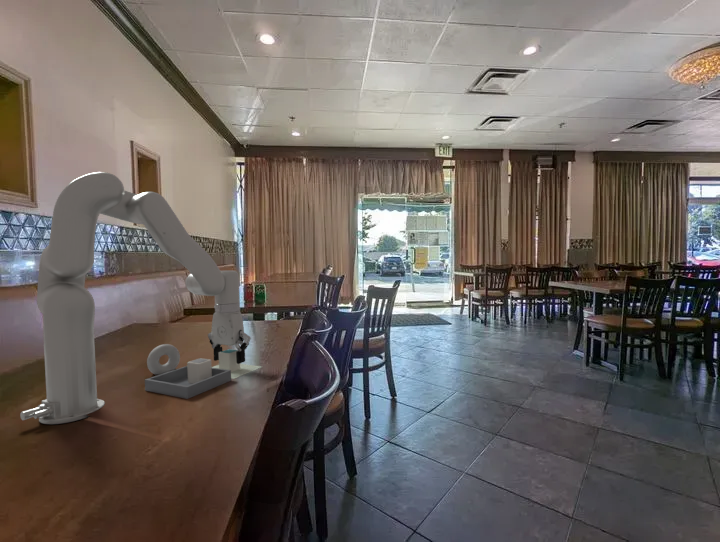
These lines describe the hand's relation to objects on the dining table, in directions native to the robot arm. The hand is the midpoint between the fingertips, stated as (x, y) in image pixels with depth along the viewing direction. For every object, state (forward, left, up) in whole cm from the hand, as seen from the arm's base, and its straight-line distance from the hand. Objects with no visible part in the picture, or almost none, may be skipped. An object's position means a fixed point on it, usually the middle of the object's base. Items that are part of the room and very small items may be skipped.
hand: (229, 361), depth 118 cm
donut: (-10, +19, -4) cm, 21 cm away
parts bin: (-16, 0, -4) cm, 16 cm away
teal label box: (0, 0, -3) cm, 3 cm away
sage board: (0, 0, -4) cm, 4 cm away
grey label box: (-12, 0, -3) cm, 12 cm away
